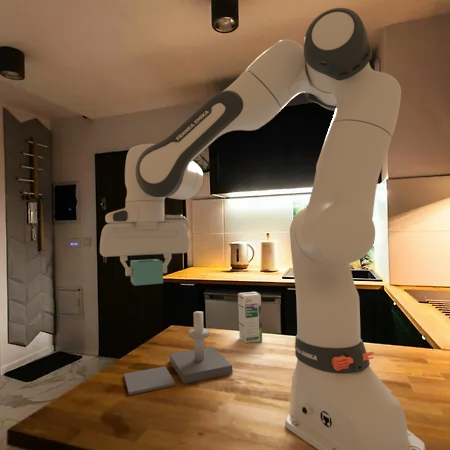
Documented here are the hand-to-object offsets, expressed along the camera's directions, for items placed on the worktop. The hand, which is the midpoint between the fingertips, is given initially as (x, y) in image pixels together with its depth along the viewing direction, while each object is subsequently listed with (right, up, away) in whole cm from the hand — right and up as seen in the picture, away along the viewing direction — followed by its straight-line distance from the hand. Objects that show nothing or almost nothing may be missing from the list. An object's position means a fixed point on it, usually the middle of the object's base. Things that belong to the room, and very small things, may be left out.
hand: (146, 274), depth 77 cm
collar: (0, -2, 0) cm, 2 cm away
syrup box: (+26, -25, +27) cm, 45 cm away
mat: (+1, -25, 0) cm, 25 cm away
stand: (+12, -24, +6) cm, 28 cm away
